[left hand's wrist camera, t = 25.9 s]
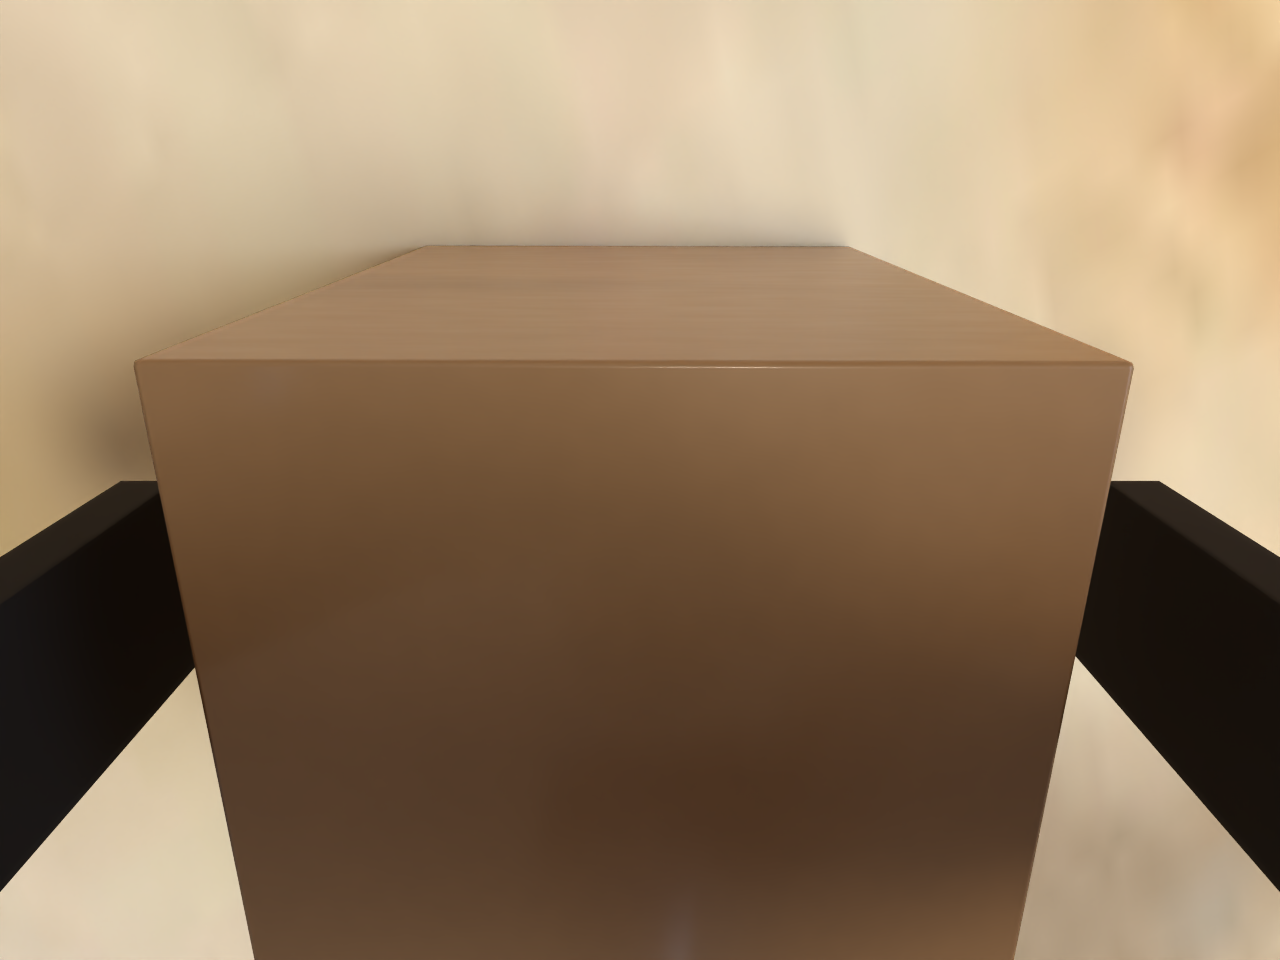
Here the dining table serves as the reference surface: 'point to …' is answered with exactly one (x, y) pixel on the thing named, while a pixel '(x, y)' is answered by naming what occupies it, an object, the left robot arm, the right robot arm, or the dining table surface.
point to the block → (633, 601)
